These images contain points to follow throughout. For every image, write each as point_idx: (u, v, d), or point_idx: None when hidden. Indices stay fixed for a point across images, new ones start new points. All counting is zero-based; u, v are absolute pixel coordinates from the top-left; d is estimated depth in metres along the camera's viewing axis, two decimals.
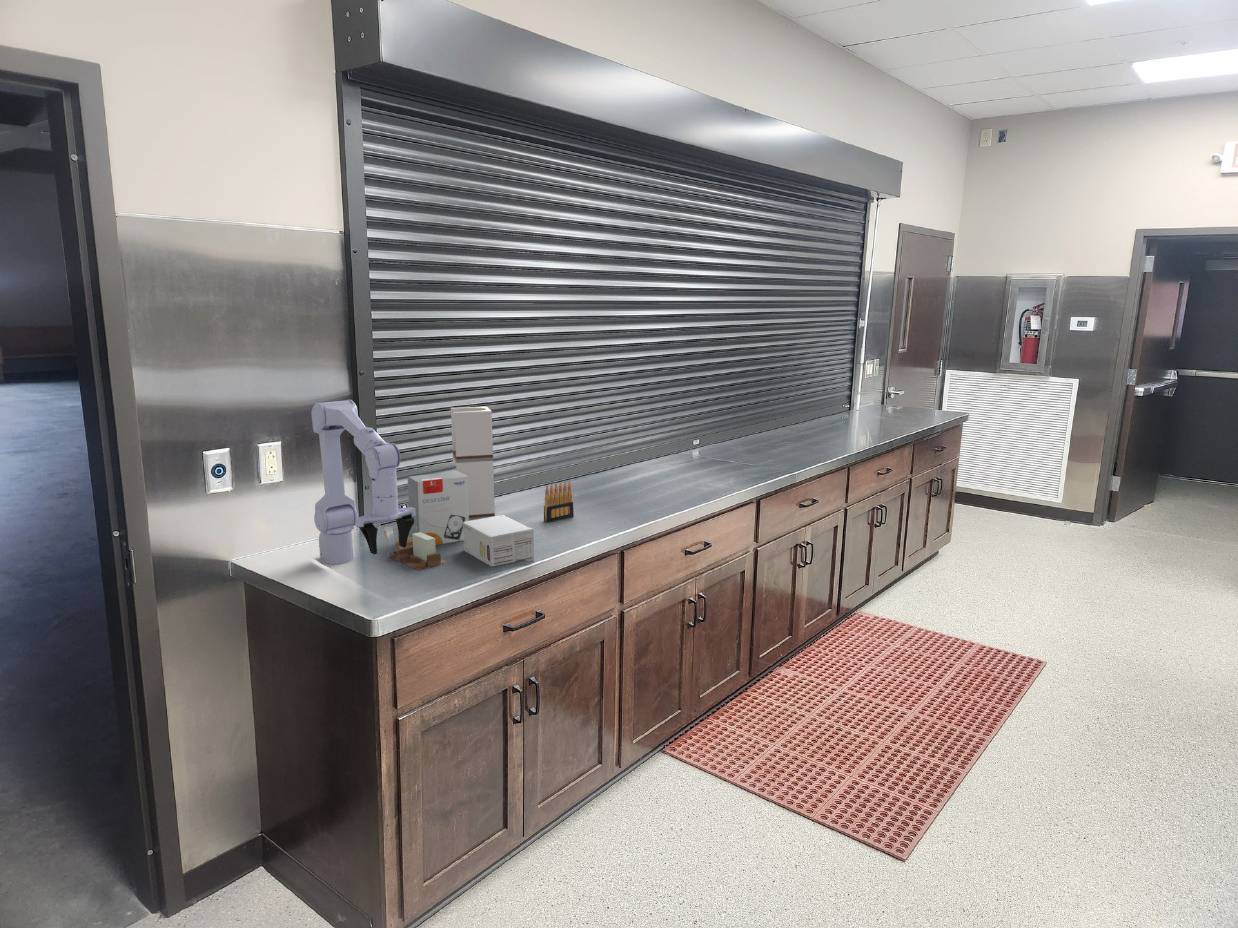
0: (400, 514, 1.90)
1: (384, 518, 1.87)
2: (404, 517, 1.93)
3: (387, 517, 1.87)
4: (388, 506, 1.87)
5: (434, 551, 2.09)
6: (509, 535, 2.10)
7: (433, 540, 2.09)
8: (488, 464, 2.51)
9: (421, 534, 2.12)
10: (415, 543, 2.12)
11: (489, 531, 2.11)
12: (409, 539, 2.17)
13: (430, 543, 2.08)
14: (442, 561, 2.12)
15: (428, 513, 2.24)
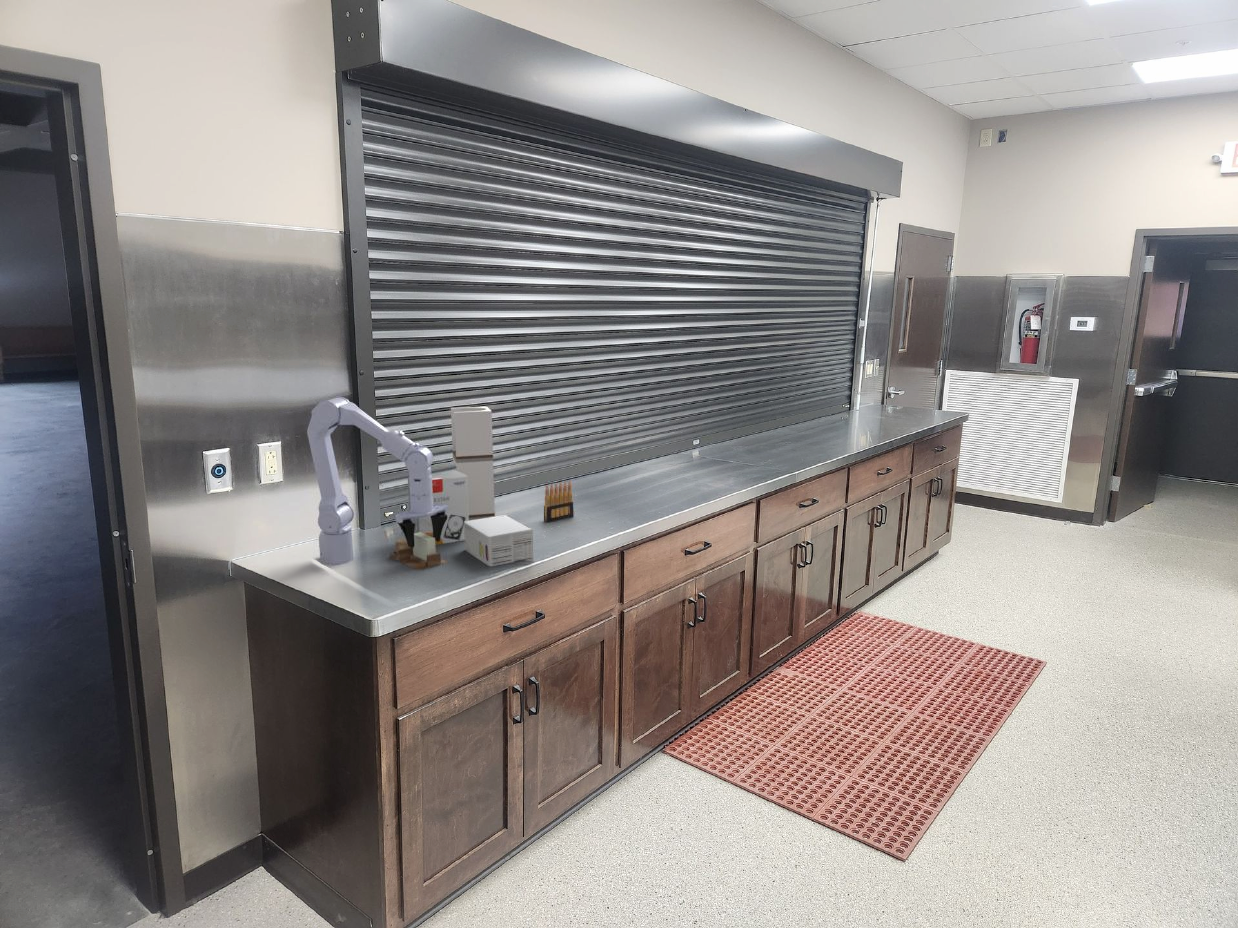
0: (435, 511, 2.09)
1: (421, 515, 2.06)
2: (438, 514, 2.12)
3: (424, 514, 2.07)
4: (425, 504, 2.07)
5: (434, 551, 2.09)
6: (508, 535, 2.10)
7: (433, 540, 2.09)
8: (488, 464, 2.51)
9: (421, 534, 2.12)
10: (415, 543, 2.12)
11: (488, 531, 2.11)
12: None
13: (430, 543, 2.08)
14: (442, 561, 2.12)
15: None
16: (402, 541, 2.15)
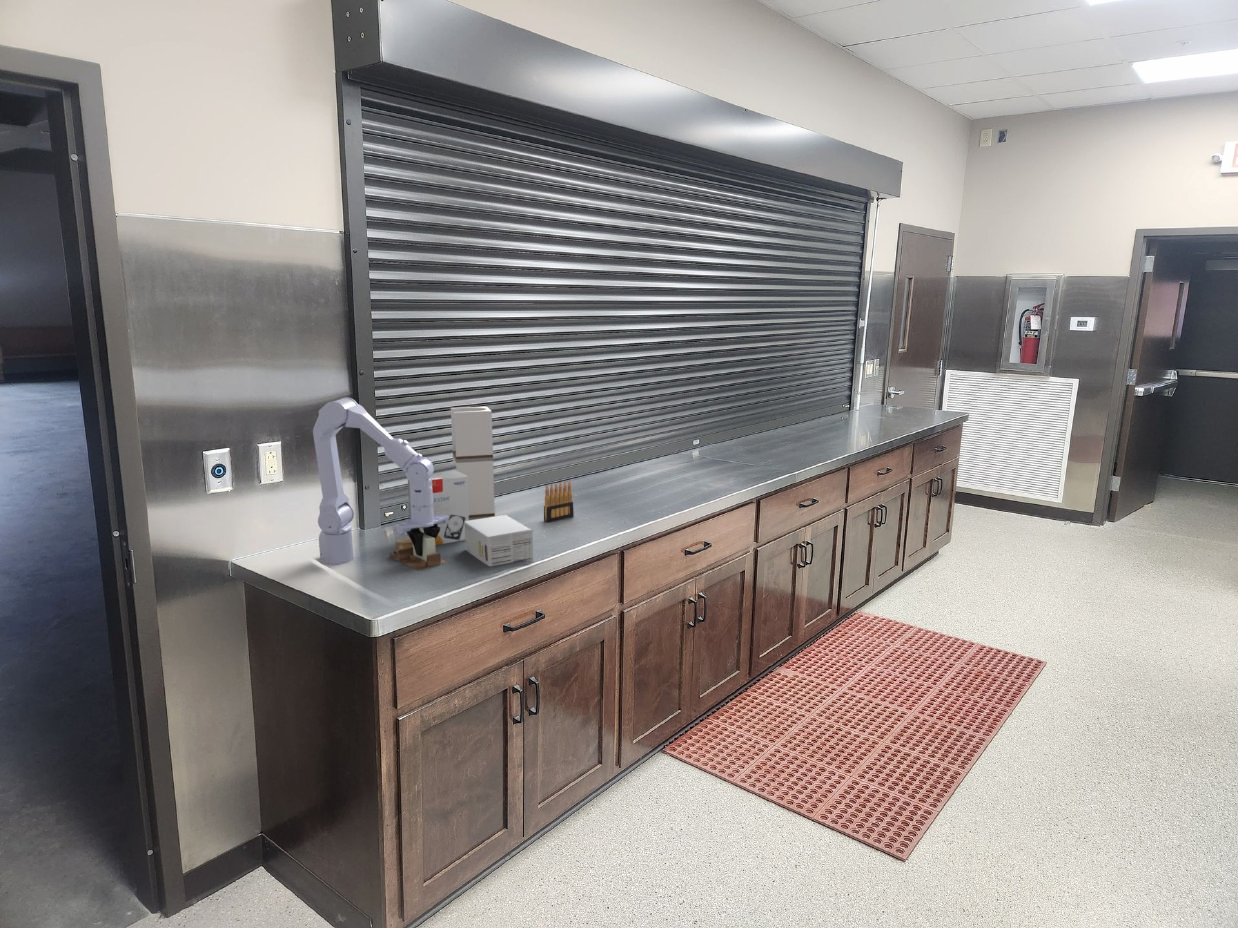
0: (435, 522, 2.10)
1: (421, 525, 2.07)
2: (438, 524, 2.13)
3: (424, 524, 2.07)
4: (425, 515, 2.07)
5: (434, 551, 2.09)
6: (507, 535, 2.10)
7: (433, 540, 2.09)
8: (488, 464, 2.51)
9: None
10: None
11: (488, 531, 2.11)
12: (409, 539, 2.17)
13: (430, 543, 2.08)
14: (442, 561, 2.12)
15: None
16: (402, 541, 2.15)
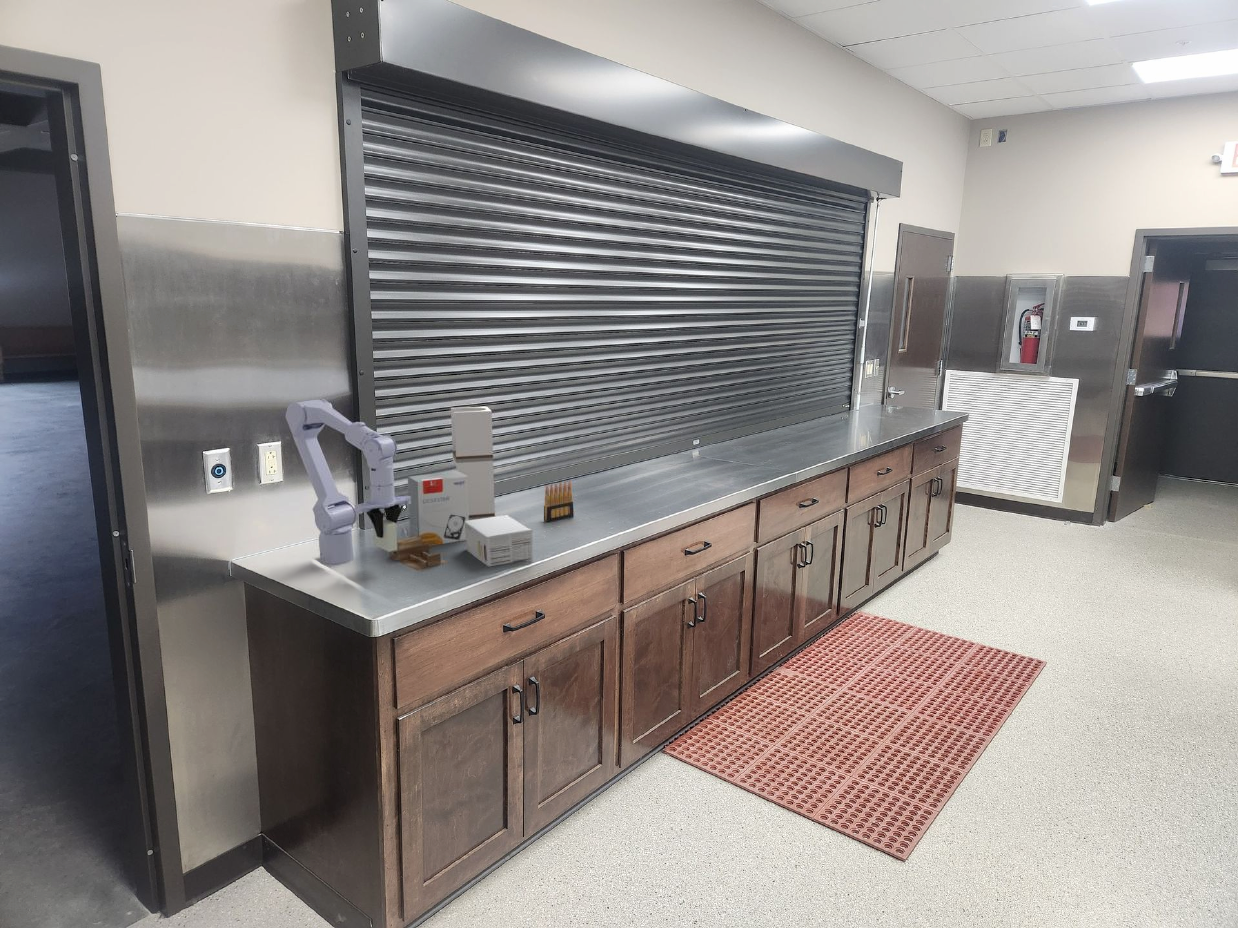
0: (396, 502, 2.02)
1: (381, 505, 1.99)
2: None
3: (384, 504, 1.99)
4: (385, 495, 1.99)
5: (395, 537, 2.02)
6: (507, 535, 2.10)
7: (394, 525, 2.01)
8: (488, 464, 2.51)
9: None
10: None
11: (487, 531, 2.11)
12: (409, 539, 2.17)
13: (391, 528, 2.01)
14: (442, 561, 2.12)
15: (428, 513, 2.24)
16: (402, 541, 2.15)
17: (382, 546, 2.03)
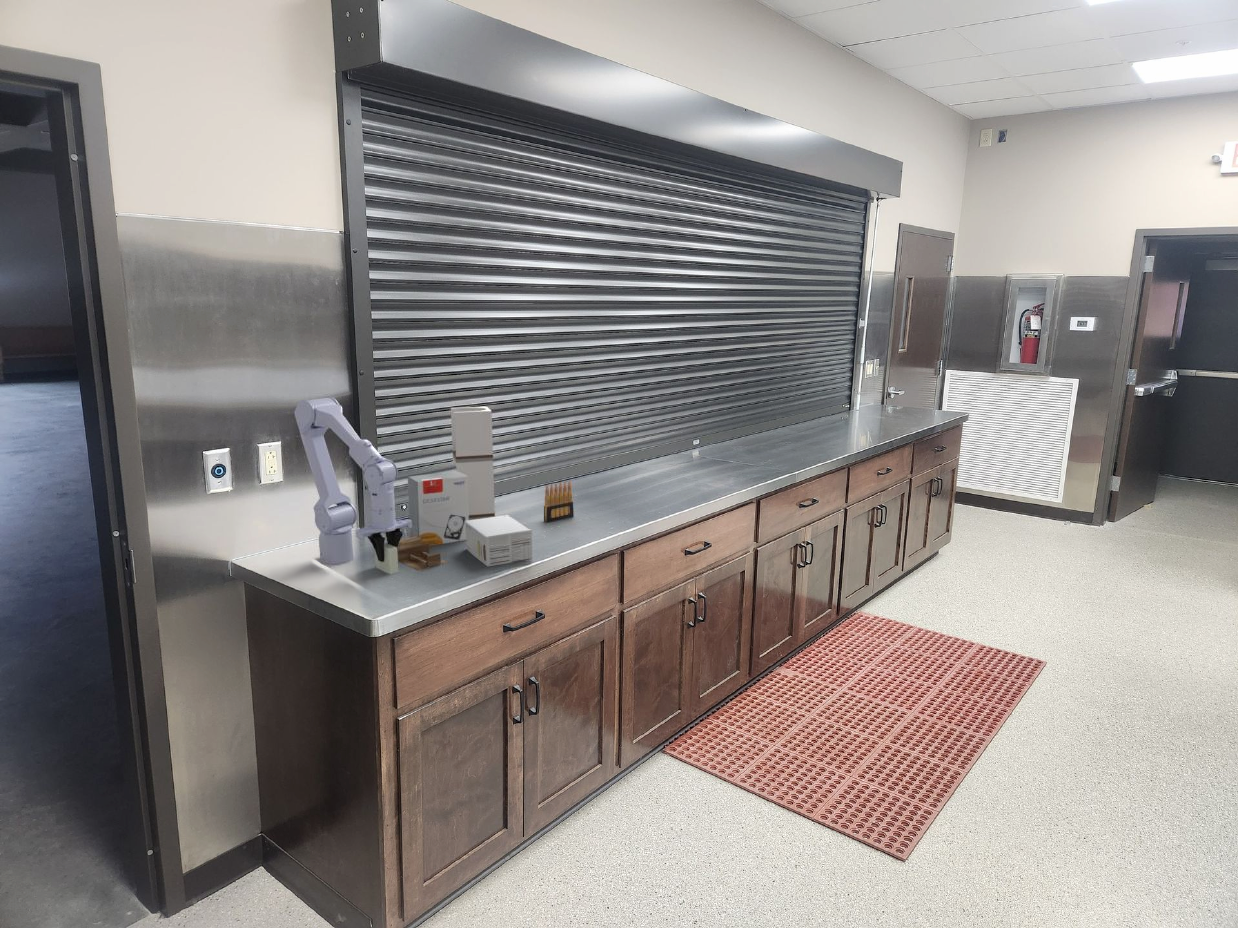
0: (397, 526, 2.03)
1: (382, 530, 2.00)
2: None
3: (385, 529, 2.01)
4: (386, 519, 2.01)
5: (396, 561, 2.03)
6: (506, 535, 2.10)
7: (395, 550, 2.02)
8: (488, 464, 2.51)
9: None
10: None
11: (487, 531, 2.11)
12: (409, 539, 2.17)
13: (392, 553, 2.02)
14: (442, 561, 2.12)
15: (428, 513, 2.24)
16: (402, 541, 2.15)
17: (383, 570, 2.05)
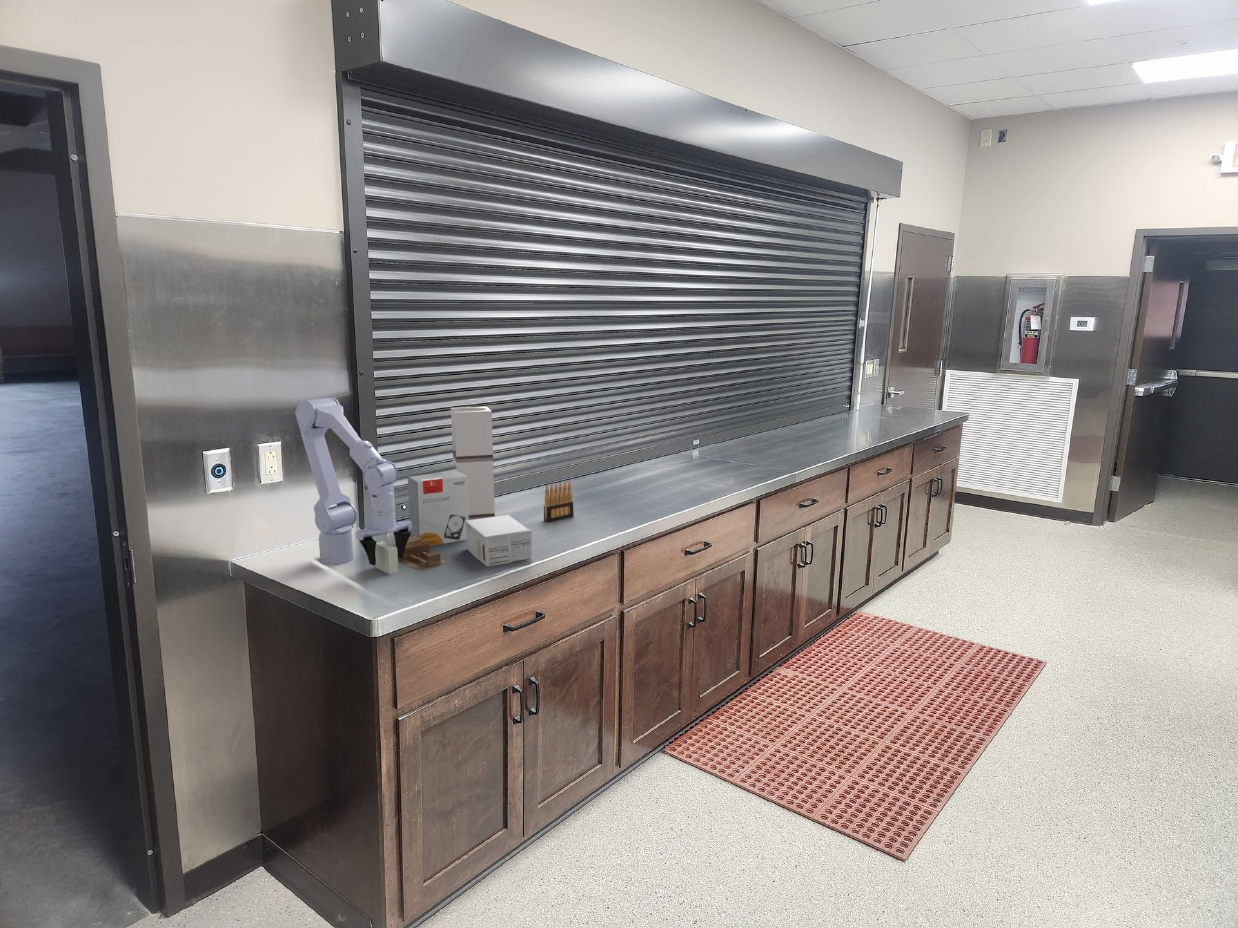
0: (397, 528, 2.04)
1: (382, 532, 2.00)
2: (401, 530, 2.06)
3: (385, 531, 2.01)
4: (386, 521, 2.01)
5: (396, 561, 2.03)
6: (505, 536, 2.09)
7: (395, 550, 2.02)
8: (488, 464, 2.51)
9: (383, 543, 2.06)
10: (377, 553, 2.06)
11: (486, 531, 2.11)
12: (409, 539, 2.17)
13: (392, 553, 2.02)
14: (442, 561, 2.12)
15: (428, 513, 2.24)
16: None
17: (383, 570, 2.05)
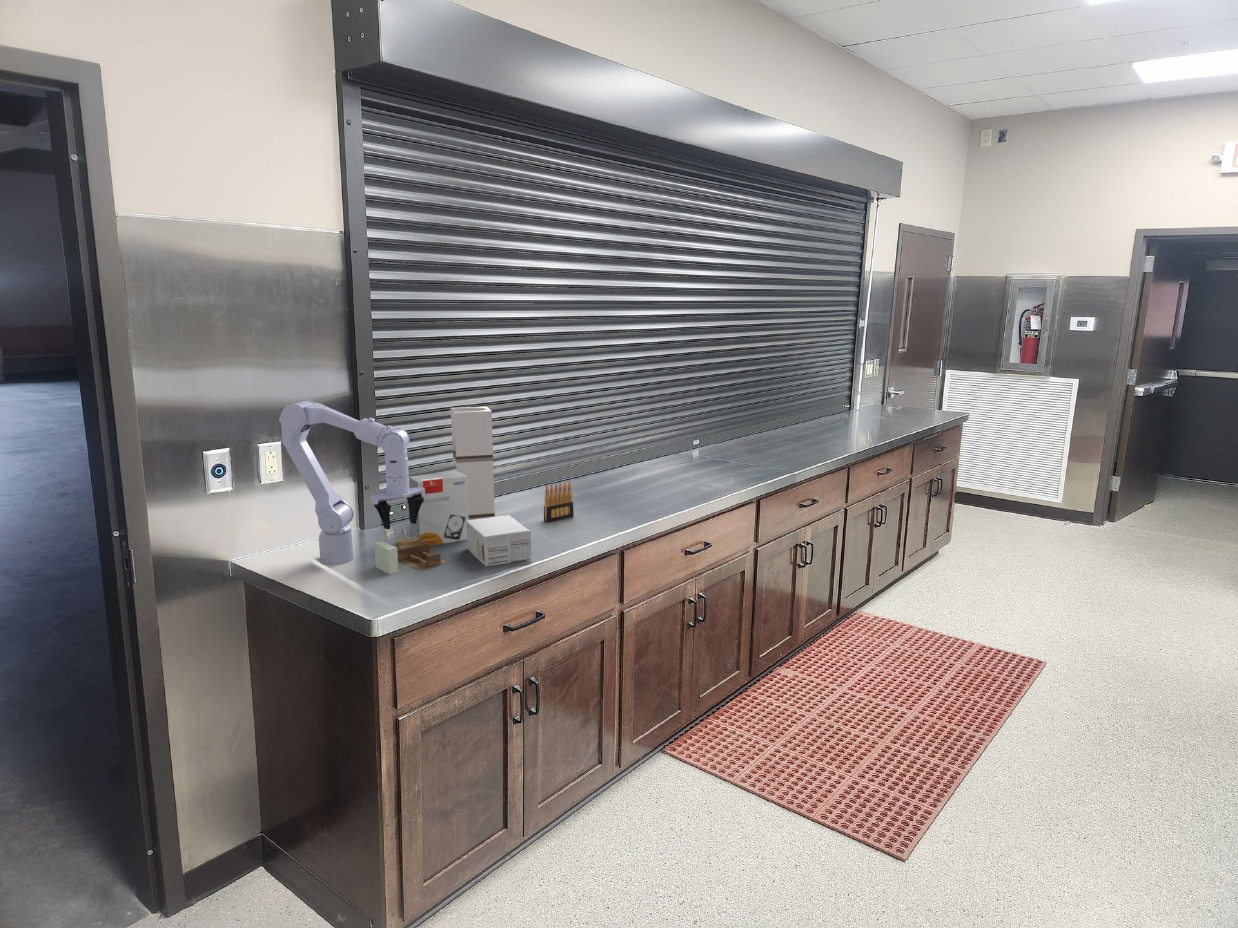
0: (411, 493, 2.09)
1: (396, 496, 2.06)
2: (414, 496, 2.12)
3: (399, 495, 2.06)
4: (400, 486, 2.06)
5: (396, 561, 2.03)
6: (505, 536, 2.09)
7: (395, 550, 2.02)
8: (488, 464, 2.51)
9: (383, 543, 2.06)
10: (377, 553, 2.06)
11: (486, 530, 2.11)
12: (409, 539, 2.17)
13: (392, 553, 2.02)
14: (442, 561, 2.12)
15: (428, 513, 2.24)
16: (402, 541, 2.15)
17: (383, 570, 2.05)
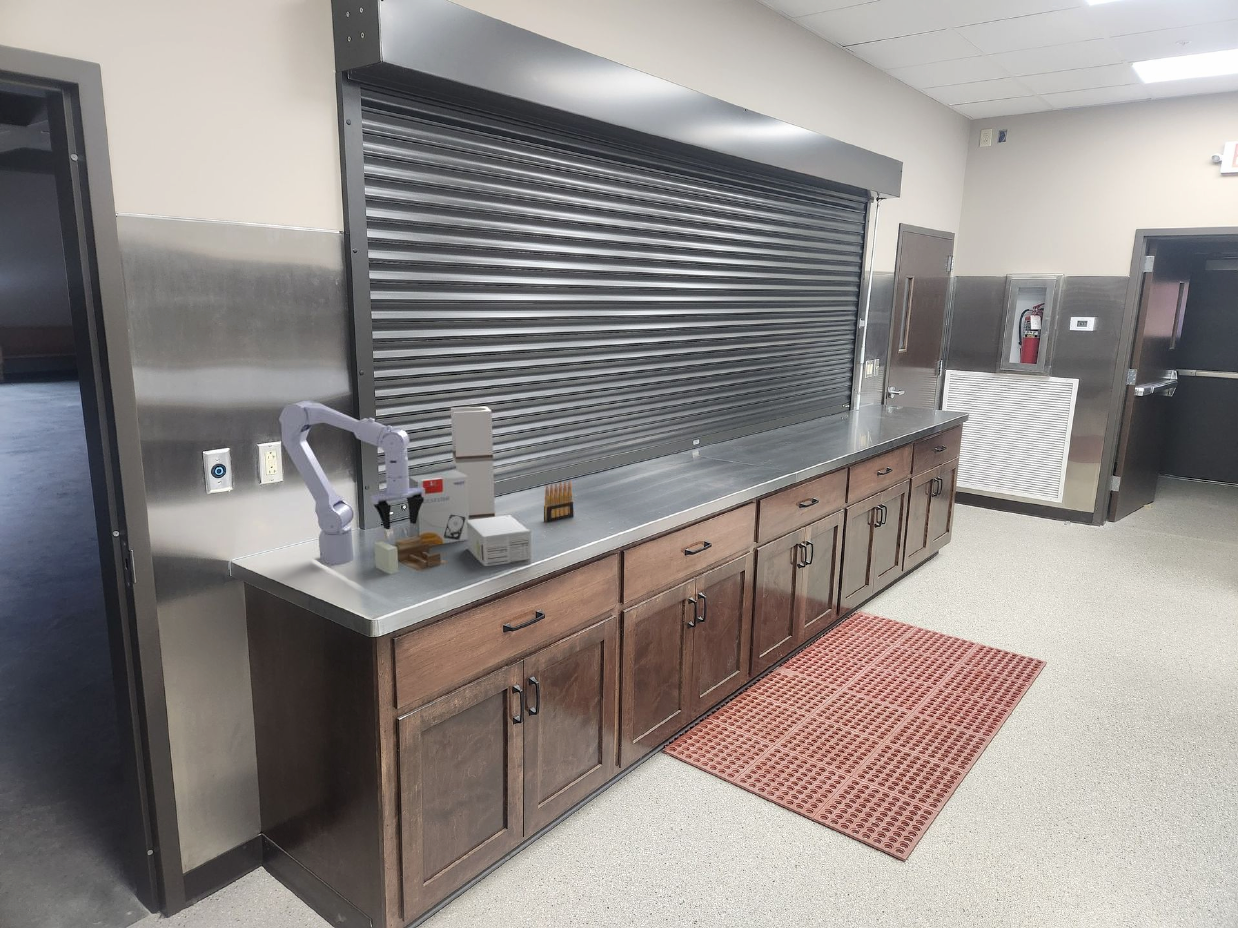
0: (411, 493, 2.09)
1: (396, 496, 2.06)
2: (414, 496, 2.12)
3: (399, 495, 2.06)
4: (400, 486, 2.06)
5: (396, 561, 2.03)
6: (504, 536, 2.09)
7: (395, 550, 2.02)
8: (488, 464, 2.51)
9: (383, 543, 2.06)
10: (377, 553, 2.06)
11: (485, 530, 2.11)
12: (409, 539, 2.17)
13: (392, 553, 2.02)
14: (442, 561, 2.12)
15: (428, 513, 2.24)
16: (402, 541, 2.15)
17: (383, 570, 2.05)
